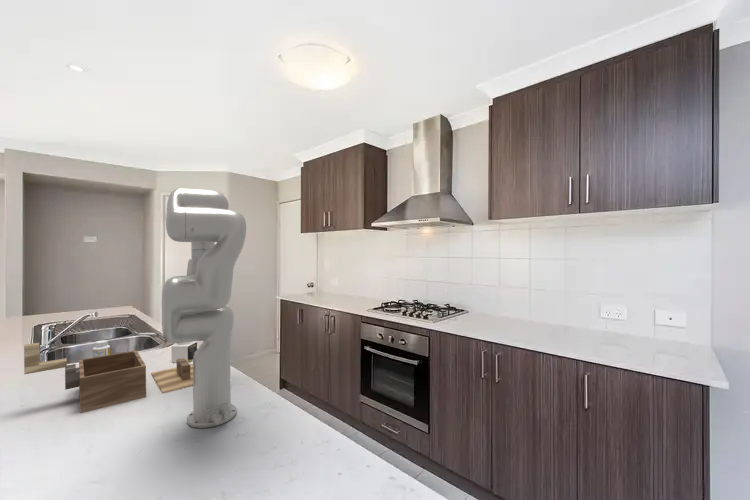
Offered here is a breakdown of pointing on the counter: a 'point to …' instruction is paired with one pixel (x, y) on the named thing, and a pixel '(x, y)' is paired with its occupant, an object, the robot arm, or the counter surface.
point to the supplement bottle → (101, 348)
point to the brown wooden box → (107, 379)
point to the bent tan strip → (33, 360)
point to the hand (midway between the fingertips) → (203, 303)
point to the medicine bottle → (184, 351)
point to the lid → (174, 377)
